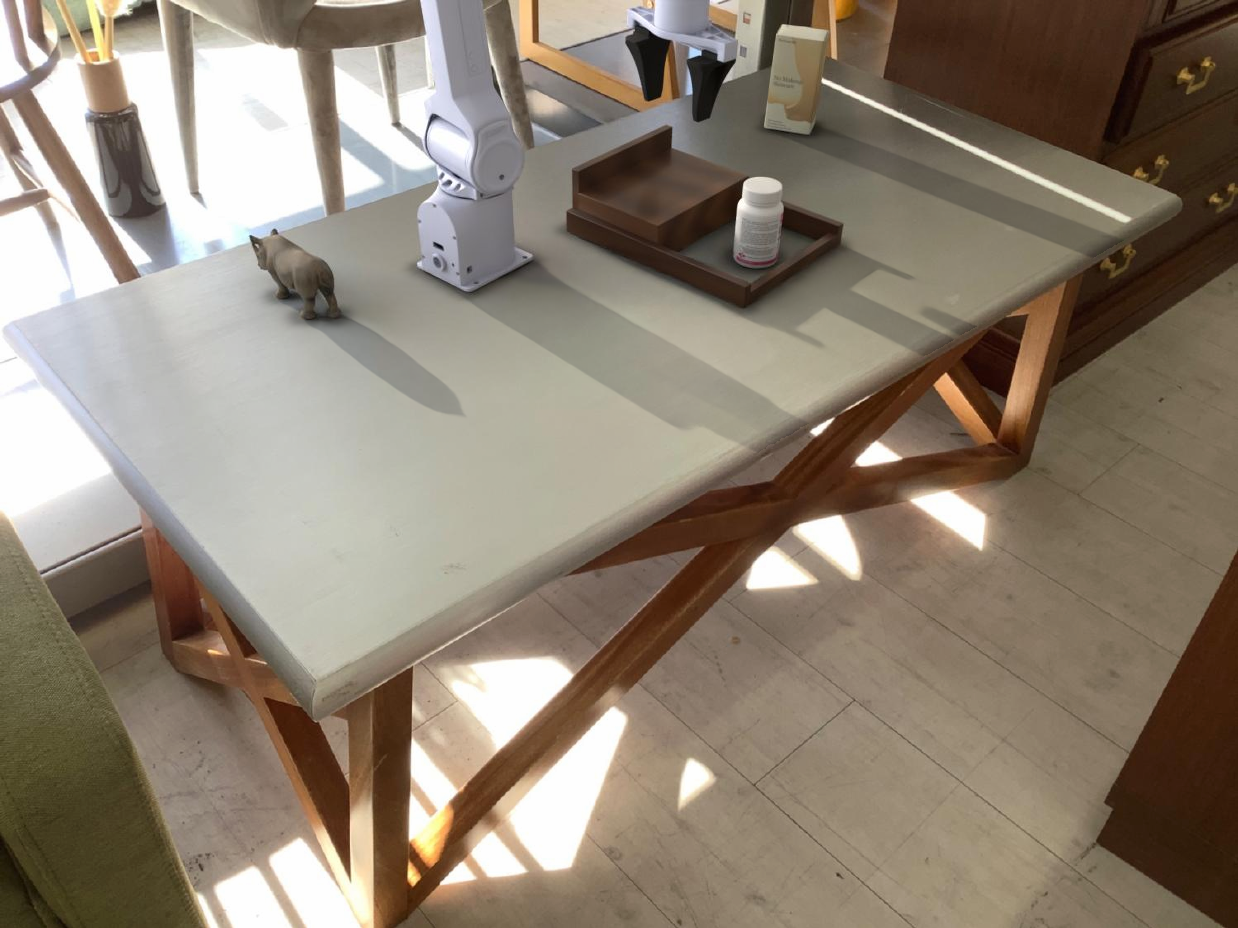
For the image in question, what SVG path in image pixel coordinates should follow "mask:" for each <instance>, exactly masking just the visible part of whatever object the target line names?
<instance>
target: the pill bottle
mask: <svg viewBox="0 0 1238 928" xmlns="http://www.w3.org/2000/svg"><path fill="white" fill-rule="evenodd" d="M782 197H783V184H782V182H781V181H780V180H777V179H775V178H772V177H767V176H755V177H749V179H748V180H746V181H745V182H744V184H743V193H742V199H741V200H740V201H739V203H738V207H737V216H736V218H735V219H736V220H735V228H734V239H733V248H732V257H733V260H734V262H736V263H737V264H739V265H741V266H742V267H744V268H749V269H766V268H769V267H772V266H774V265H775V264H776V263H777V261H778V259H779V249H780V241H781V234H782V219H783V211H784V207H783V204H782V202H781V200H782Z"/></svg>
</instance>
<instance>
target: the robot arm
mask: <svg viewBox="0 0 1238 928" xmlns="http://www.w3.org/2000/svg"><path fill="white" fill-rule="evenodd" d="M419 1H420V2H419V3H420V7H421V13H422V18H423V25H424V30H425V35H426V41H427V46H428V47H427V48H428V53H429V59H430V63H431V70H432V75H433V81H434V87H435V89H434V90H433V91H432V92H431V93H430V94H428V95H427V96H426V98H424V100H423V104H424V105H423V106H424V112H425V118H424V119H425V120H424V124H423V129H422V134H421V135H422V136H421V143H422V147H423V151H424V153H425V154H426V156H427V157H428V158H429V159H430V160H431V161H432V162H433V163H435V166H436V175H437V179H438V184H437V186H436V187H437V188H436V189H435V190H434V192H433V193H432V194H431V195H430V196H429V197H428V198H427V199H426V200H424V201H423V202H421V203H420V205H419V207H418V209H417V215H416V222H417V229H418V239H419V248H420V256H421V257H420V258H421V260H419V261H418V262H417V263H416V265H417V268H418V269H420V270H422V271H424V272H425V273H428V274H430V275H432V276H434V277H436V278H438V279H440V280H443V281H444V282H446V283H448V284H450V285H452V286H454V287H456V288H458V289H460V290H462V291H464V292H466V293H472V292H473V291H476V290H478V289H480V288H482V287H484V286H486V285H487V284H489V283H491V282H493V281H495V280H497V279H499V278H500V277H503V276H505V275H506V274H509V273H510V272H512V271H514V270H516V269H518V268H520V267H522V266H524V265H526V264H527V263H529V262H531V261H533V259H534V255H533V254H532V253H530V252H528V251H525V250H523V249H521V248H519V247H517V246H516V245H515V242H516V241H515V228H514V227H515V226H514V205H513V203H514V201H513V190H514V189H515V184H516V183H517V182H518V180H519V178H520V177H521V175H522V172H523V169H524V167H525V161H526V154H525V148H524V145H523V143H522V141H521V140H520V138H519V136H518V135H517V133H516V132H515V129H514V126H513V121H512V120H513V119H512V115H511V113H510V111H509V109H508V108H507V106H506V105H505V102H504V101H503V99H502V98H501V97H500V95H499V93H498V92H497V90H496V88H495V85H494V78H493V70H492V62H491V55H490V48H489V41H488V33H487V26H486V18H485V11H484V5H483V0H419ZM710 1H711V0H654V8H650V7H646V6H643V5H637V6H634V7H629V8H627V10H626V11H627V14H626V27H627V28H628V29H631V30H634V31H632V33H631V34H628V35H626V36H625V38H624V44H625V45H626V47H627V49H628V51H629V53H630V55H631V57H632V59H633V62H634V64H635V67H636V70H637V73H638V79H639V82H640V86H641V90H642V96H643V99H644V101H645V102H648V103H649V102H652V101H655V100H657V99H661V98H662V95H663V91H664V82H665V70H666V69H665V68H666V62H667V57H668V53H669V49H670V45H671V42H672V41H673V42H674V43H677V44H680V45H683V46H686V47H689V48H691V49H694V50H696V51H699V52H700V54H699V55H696V56H692V57H689V58H687V59H686V66H687V69H688V72H689V76H690V83H691V91H692V93H691V94H692V95H691V96H692V98H691V99H692V100H691V115H692V121H693V122H696V123H701V122H703V121H706V120H709V119H710V118H711V116H712V112H713V110H714V107H715V103H716V100H717V97H718V94H719V92H720V89H721V88H722V85H723V83H724V82H725V80H726V78H727V76H728V74H729V72H730V71H731V70H732V68H733V67H734V66H735V64H736V63H737V58H738V47H739V46H738V45H739V39H737V38H734V37H732V36H730V35H728V34H726V33H725V32H724V31H722V30H721V29H719V28H718V27H717V26H715V25H713V17H710V3H711V2H710Z"/></svg>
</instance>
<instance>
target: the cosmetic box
mask: <svg viewBox="0 0 1238 928" xmlns="http://www.w3.org/2000/svg"><path fill="white" fill-rule="evenodd" d="M829 39H830V30H828V29H821V28H820V29H819V28H814V27H809V26H800V25H793V24H792V25H791V24H785V23H782V24H781V25H780V27H779V29H778V30H777V32H776V35H775V41H774V49H773V57H772V63H771V71H770V78H769V87H768V93H767V102H766V109H765V117H764V124H763V127H764V128H765V129H768V130H775V131H781V132H782V131H783V132H787V133H788V132H789V133H794V134H800V135H806V136H807V135H808V136H809V135H811V133H812V131H813V128H814V126H815V124H816V118H817V113H818V112H817V111H818V107H819V101H820V93H821V88H822V82H823V76H824V69H825V63H826V56H827V51H828V45H829Z"/></svg>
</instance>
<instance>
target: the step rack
mask: <svg viewBox="0 0 1238 928" xmlns="http://www.w3.org/2000/svg"><path fill="white" fill-rule="evenodd" d="M672 144H673V126H671V125H669V124H665V125H662V126H660V127H657V128H656V129H654V130H652V131H649V132H647V133H645V134H643V135H641V136H639V137H636V138H634V139H632V140H630V141H628V142H626V143H624V144H622V145H619V146H618V147H617V146H616V147H615V148H614V149H611V150H609V151H607V152H604V153H602V154H600V155H598V156H596V157H594V158H592V159H589V160H587V161H585V162H582V163H580V164H579V165H577V166H574V167H572V168H571V192H572V193H571V195H572V198H571V201H572V206H571V208H568V209H567V210H565V214H566V217H565V218H566V232H568V233H570V234H573V235H575V236H577V237H580V238H582V239H584V240H587V241H588V242H590V243H593V244H594V245H597V246H600V247H602V248H604V249H606V250H609V251H612V252H614V253H616V254H618V255H620V256H623V257H626V258H627V259H630V260H632V261H634V262H637V263H639V264H641V265H644V266H646V267H648V268H651V269H652V270H655V271H657V272H660V273H662V274H664V275H666V276H669V277H671V278H674V279H675V280H677V281H680V282H682V283H685V284H687V285H689V286H692V287H694V288H696V289H698V290H700V291H703V292H705V293H708V294H709V295H712V296H714V297H717V298H719V299H720V300H723V301H726V302H728V303H731V304H733V305H735V306H737V307H740V308H742V309H746V307H748V306H750V305H751V304H753V303H755V302H756V301H757V300H759V299H761V297H763V296H765V295H766V294H768V293H769V292H771V291H772V290H774V289H775V288H777V287H779V285H781V284H783V283H784V282H785V281H787V280H789V279H790V278H792V277H793V276H795V275H796V274H798V273H799V272H800V271H802V270H803V269H806V268H807V267H808V266H810V265H811V264H813V263H814V262H816V261H817V260H818V259H820V258H822V257H823V256H825V255H826V254H828V253H829V252H831V251H832V250H834V249H835V248H836V247H838V246H840V245H841V244H842V243H841V242H842V236H843V229H844V222H842V221H839V220H835V219H833V218H830V217H827V216H825V215H822V214H820V213H817V212H815V211H812V210H809V209H806V208H803V207H801V206H798V205H795V204H793V203H790V202H787V201H784V200H783V199H781V202H782V204H783V207H784V211H783V219H782V227H783V228H785V229H788V230H791V231H792V232H795V233H798V234H800V235H804V236H805V237H809V238H810V239H814V240H815V241H813V242H812V243H811V244H809V245H808V246H806V247H804V248H803V249H801V250H800V251H798V252H797V253H795V254H794V255H792V256H791V257H789V258H787V259H786V260H785V261H783V262H781V263H779V264H778V265H777V266H776V267H774V268H772V269H771V270H769V271H767V272H766V273H765V274H762V275H761V276H759V278H757V279H755V280H754V281H752V282H750V281H748V280H745V279H743V278H741V277H738V276H735V275H733V274H732V273H728V272H726V271H724V270H721V269H719V268H717V267H714V266H712V265H710V264H707V263H705V262H702V261H700V260H698V259H695V258H693V257H691V256H688V255H686V254H683V253H681V252H680V251H682V250H684V249H685V248H686V247H689V246H690V245H692V244H694V243H695V242H697V241H699V240H701V239H702V238H704V237H706V236H707V235H709V234H711V233H713V232H715V231H716V230H718V229H719V228H721V227H723V226H725V225H726V224H728V223H730V222H731V221H733V220H735V219H736V216H737V207H738V203H739V201H740V200H741V199H742V193H743V184H744V182H745V181H746V180H748V179H750V176H749V175H748V174H746V173H742V172H739V171H737V170H734V169H731V168H728V167H726V166H723V165H720V164H718V163H715V162H712V161H709V160H706V159H703V158H701V157H698V156H695V155H692V154H690V153H687V152H684V151H681V150H679V149H676V148H674V147H673V146H672ZM782 227H781V228H782Z"/></svg>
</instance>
